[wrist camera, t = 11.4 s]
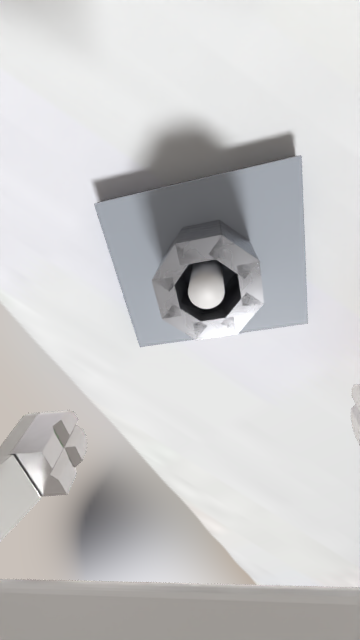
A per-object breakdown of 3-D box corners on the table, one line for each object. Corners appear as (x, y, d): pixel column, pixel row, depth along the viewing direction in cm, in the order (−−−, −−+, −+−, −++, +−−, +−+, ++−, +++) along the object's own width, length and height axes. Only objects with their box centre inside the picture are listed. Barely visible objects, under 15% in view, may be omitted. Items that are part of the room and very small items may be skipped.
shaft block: (295, 155, 20) (328, 153, 15) (302, 315, 26) (329, 359, 20) (100, 201, 23) (63, 214, 17) (143, 338, 28) (125, 383, 22)
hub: (246, 213, 21) (256, 227, 17) (256, 298, 24) (266, 330, 19) (156, 232, 22) (143, 250, 18) (176, 311, 25) (168, 344, 20)
